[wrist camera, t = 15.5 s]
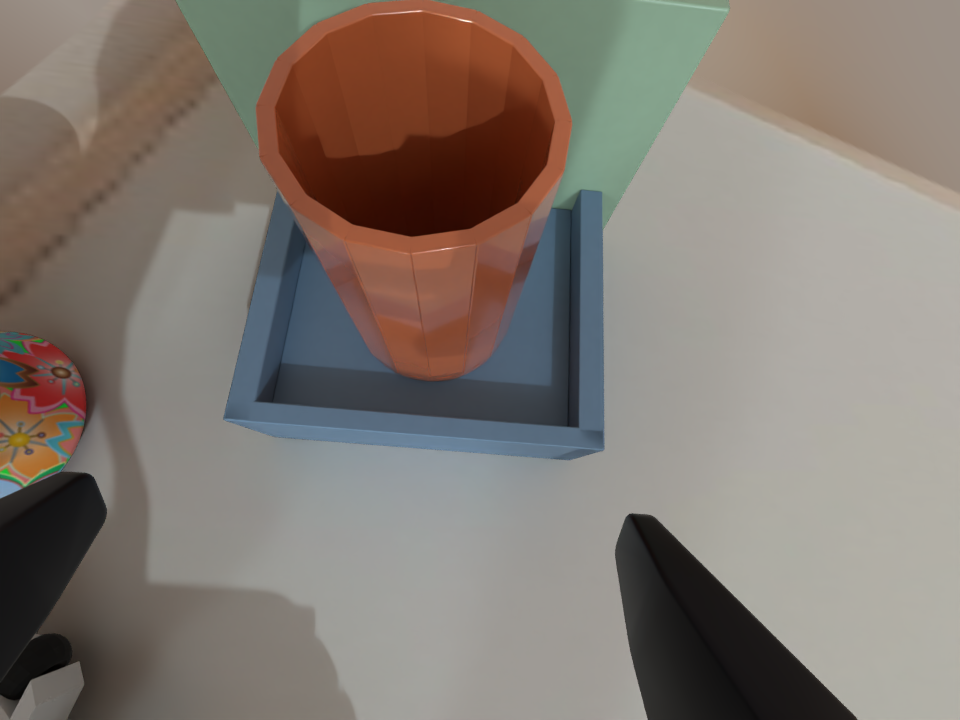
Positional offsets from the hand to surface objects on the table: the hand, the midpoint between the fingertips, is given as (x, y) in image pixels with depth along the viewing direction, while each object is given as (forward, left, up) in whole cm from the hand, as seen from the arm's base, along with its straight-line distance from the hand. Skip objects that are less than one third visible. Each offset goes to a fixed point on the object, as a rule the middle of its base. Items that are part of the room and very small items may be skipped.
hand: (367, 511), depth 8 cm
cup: (+7, -3, -10) cm, 13 cm away
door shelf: (+7, -3, -13) cm, 16 cm away
